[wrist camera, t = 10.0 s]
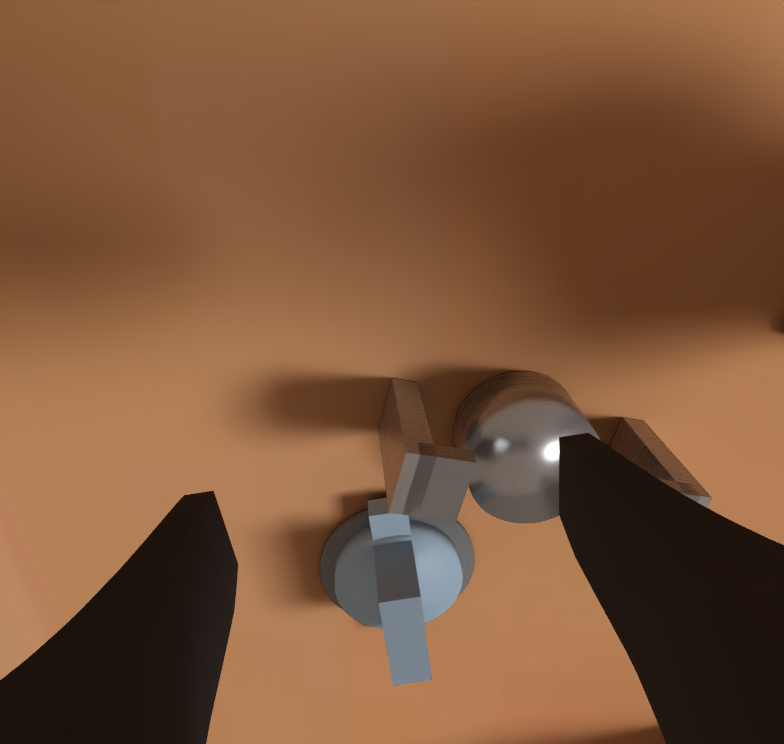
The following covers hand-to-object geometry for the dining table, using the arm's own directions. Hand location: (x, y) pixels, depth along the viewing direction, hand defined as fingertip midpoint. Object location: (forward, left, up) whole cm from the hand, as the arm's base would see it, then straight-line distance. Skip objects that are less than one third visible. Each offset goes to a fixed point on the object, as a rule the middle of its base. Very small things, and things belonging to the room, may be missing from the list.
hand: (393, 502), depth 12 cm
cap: (-4, +11, -10) cm, 16 cm away
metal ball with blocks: (-7, +3, -10) cm, 13 cm away
